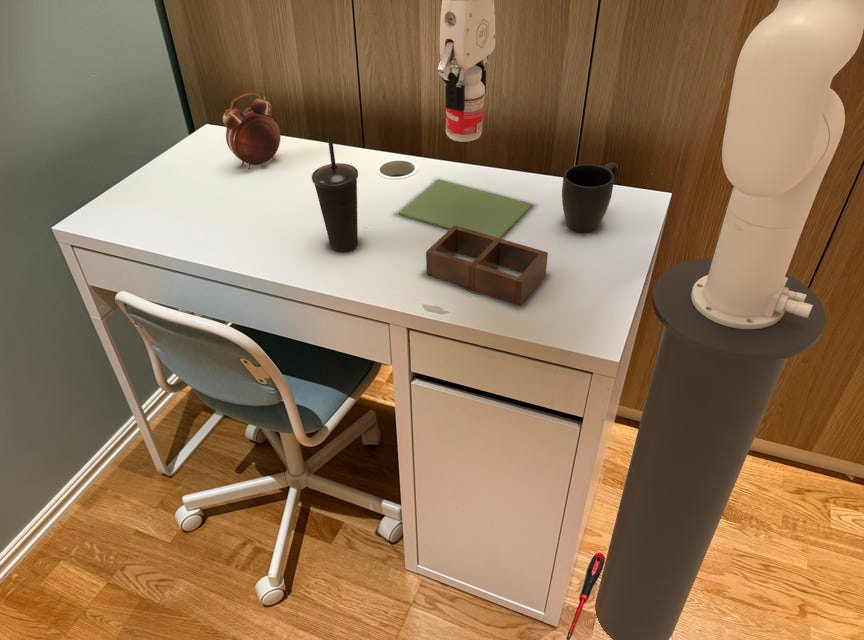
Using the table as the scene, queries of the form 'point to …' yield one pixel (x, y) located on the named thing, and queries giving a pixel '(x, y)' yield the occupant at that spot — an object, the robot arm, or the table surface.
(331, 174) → the drinking cup
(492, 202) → the mat
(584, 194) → the mug
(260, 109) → the alarm clock
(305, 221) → the table surface
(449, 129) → the pill bottle
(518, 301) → the wooden compartment box
